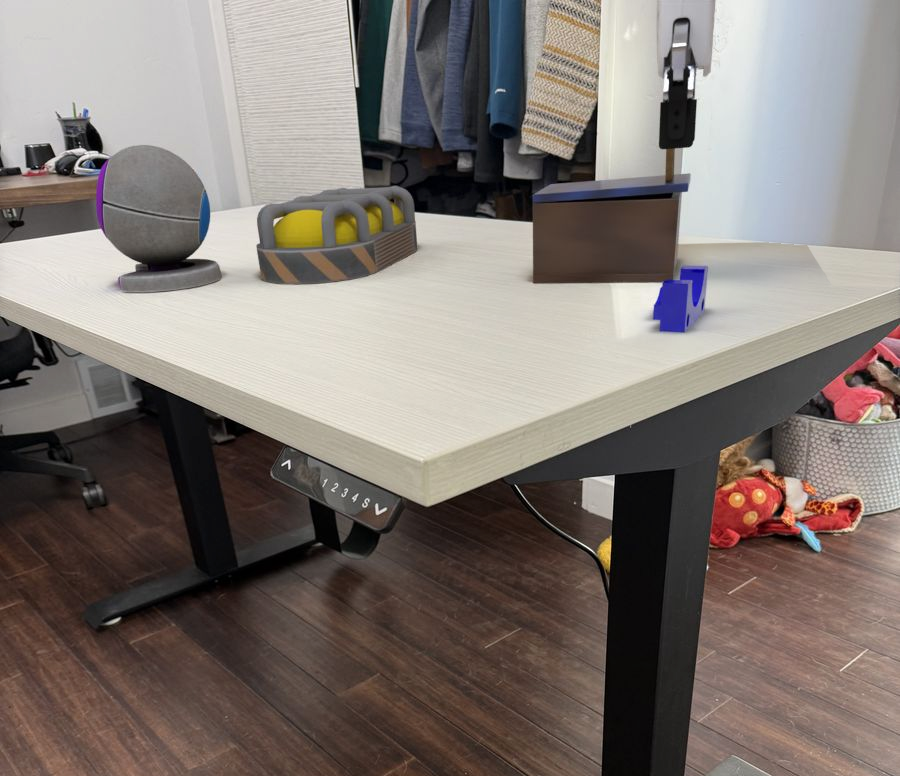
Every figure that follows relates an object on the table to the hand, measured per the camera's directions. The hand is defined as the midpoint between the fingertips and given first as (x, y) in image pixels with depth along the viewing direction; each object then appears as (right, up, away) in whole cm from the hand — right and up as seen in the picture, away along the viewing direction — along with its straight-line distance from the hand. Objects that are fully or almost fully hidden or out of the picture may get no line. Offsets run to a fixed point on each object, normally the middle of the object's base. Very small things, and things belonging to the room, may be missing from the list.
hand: (677, 145), depth 87 cm
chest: (-6, -10, +8) cm, 14 cm away
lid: (-6, -3, +4) cm, 7 cm away
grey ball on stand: (-58, -7, +18) cm, 61 cm away
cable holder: (-4, -23, -15) cm, 28 cm away
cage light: (-37, -2, +25) cm, 45 cm away
